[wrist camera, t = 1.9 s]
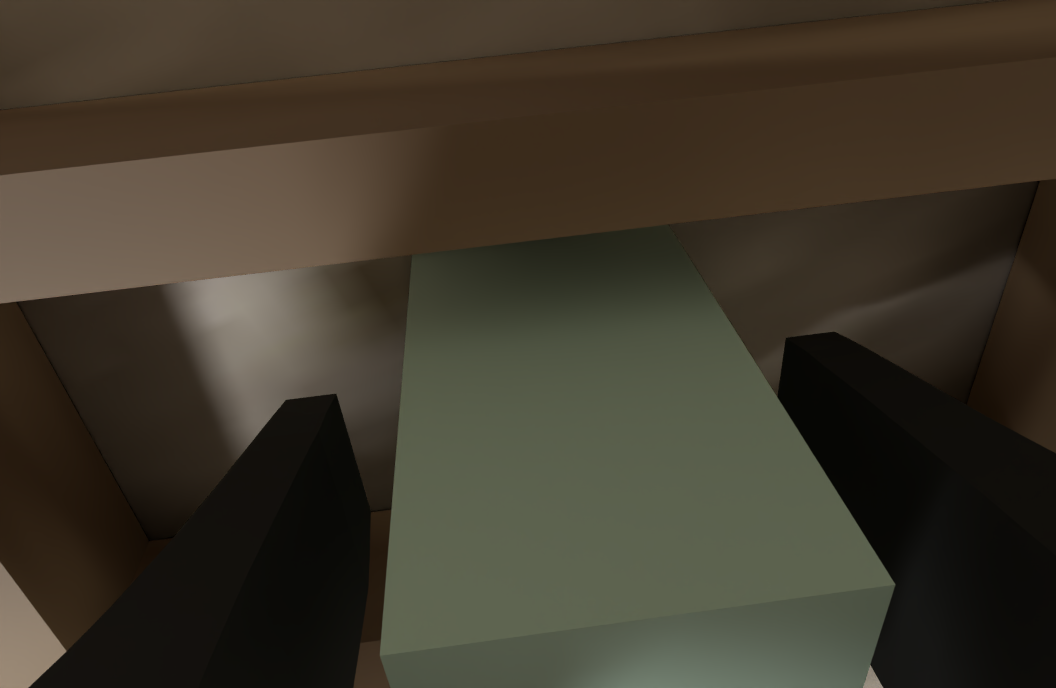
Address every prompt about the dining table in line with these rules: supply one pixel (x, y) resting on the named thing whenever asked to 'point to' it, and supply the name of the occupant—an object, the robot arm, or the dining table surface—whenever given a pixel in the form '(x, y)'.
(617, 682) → the part block
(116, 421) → the dining table surface
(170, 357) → the dining table surface
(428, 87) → the pocket frame
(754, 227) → the dining table surface
